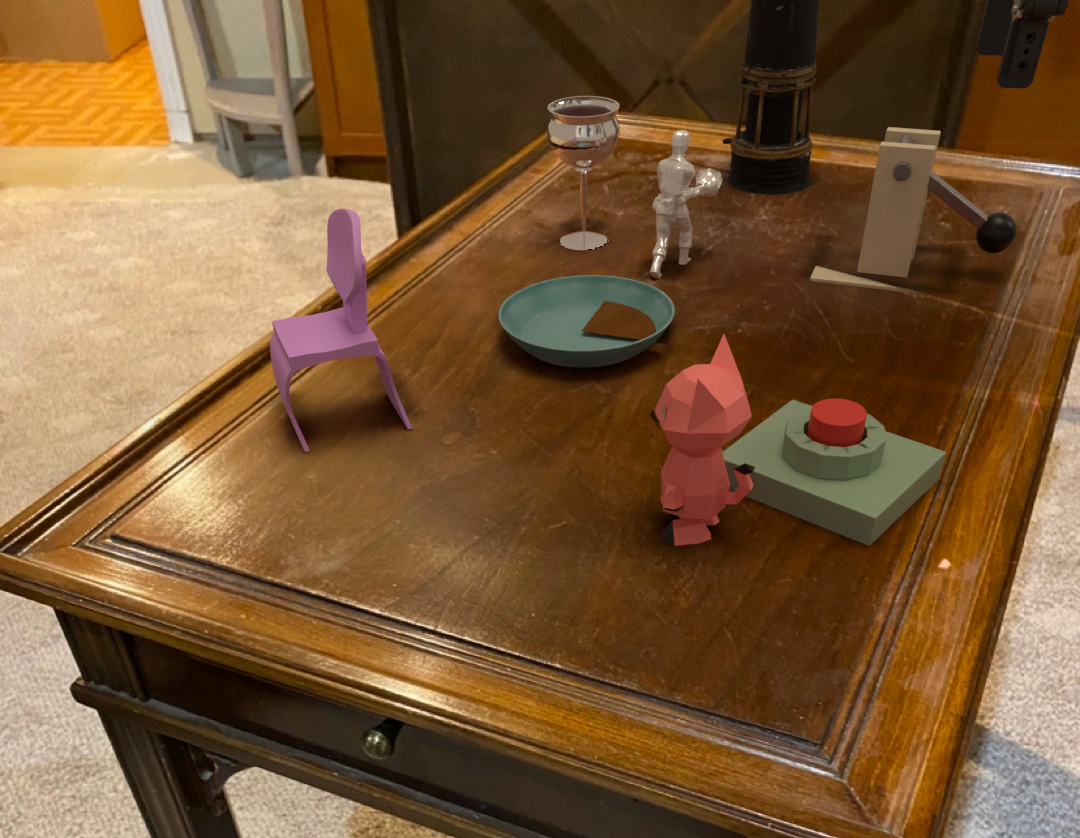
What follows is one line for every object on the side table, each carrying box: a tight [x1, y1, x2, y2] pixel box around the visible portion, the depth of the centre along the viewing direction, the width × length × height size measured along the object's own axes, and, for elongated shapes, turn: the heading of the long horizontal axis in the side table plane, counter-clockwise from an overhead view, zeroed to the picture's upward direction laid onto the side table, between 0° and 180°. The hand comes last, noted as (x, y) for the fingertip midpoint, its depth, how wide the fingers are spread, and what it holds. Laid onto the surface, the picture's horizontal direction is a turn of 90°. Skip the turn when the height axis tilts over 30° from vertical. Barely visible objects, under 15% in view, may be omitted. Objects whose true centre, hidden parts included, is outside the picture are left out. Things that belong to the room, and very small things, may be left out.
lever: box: [898, 135, 1018, 254], centre depth 90 cm, size 13×3×3 cm, turn 70°
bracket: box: [809, 126, 942, 296], centre depth 92 cm, size 12×9×12 cm
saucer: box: [497, 274, 676, 369], centre depth 88 cm, size 15×15×3 cm
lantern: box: [722, 0, 820, 196], centre depth 103 cm, size 9×9×30 cm
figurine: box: [649, 129, 723, 279], centre depth 95 cm, size 5×9×12 cm, turn 154°
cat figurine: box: [649, 333, 755, 546], centre depth 65 cm, size 7×7×12 cm
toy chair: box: [269, 208, 413, 452], centre depth 76 cm, size 8×9×15 cm
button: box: [807, 398, 868, 447], centre depth 70 cm, size 4×4×2 cm
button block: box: [722, 399, 947, 547], centre depth 72 cm, size 12×10×4 cm
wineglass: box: [546, 95, 621, 251], centre depth 101 cm, size 7×7×12 cm
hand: (1001, 69), depth 73 cm, fingers open, 8 cm apart
